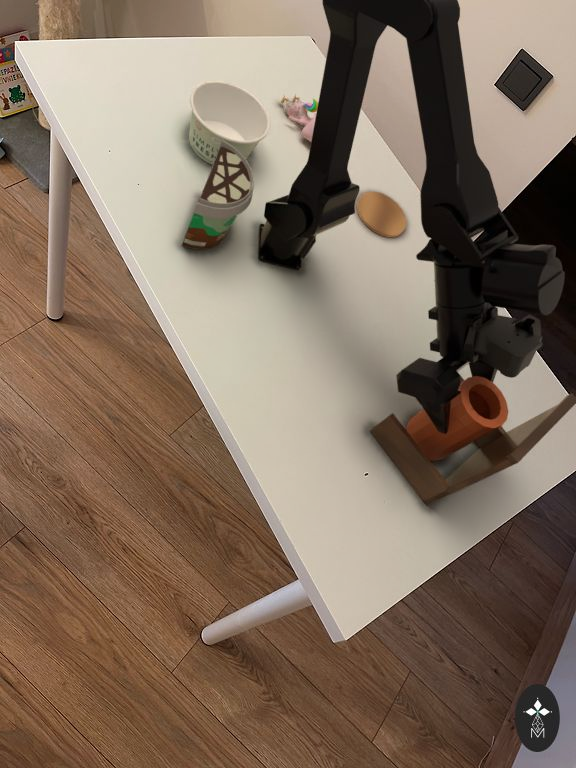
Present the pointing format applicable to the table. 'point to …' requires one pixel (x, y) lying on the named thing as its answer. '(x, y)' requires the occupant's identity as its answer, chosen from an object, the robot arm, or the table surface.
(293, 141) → the table surface
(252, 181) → the food container
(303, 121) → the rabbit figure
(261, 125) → the food container
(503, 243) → the robot arm
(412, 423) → the jar
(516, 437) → the wooden stand
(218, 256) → the table surface
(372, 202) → the disc
